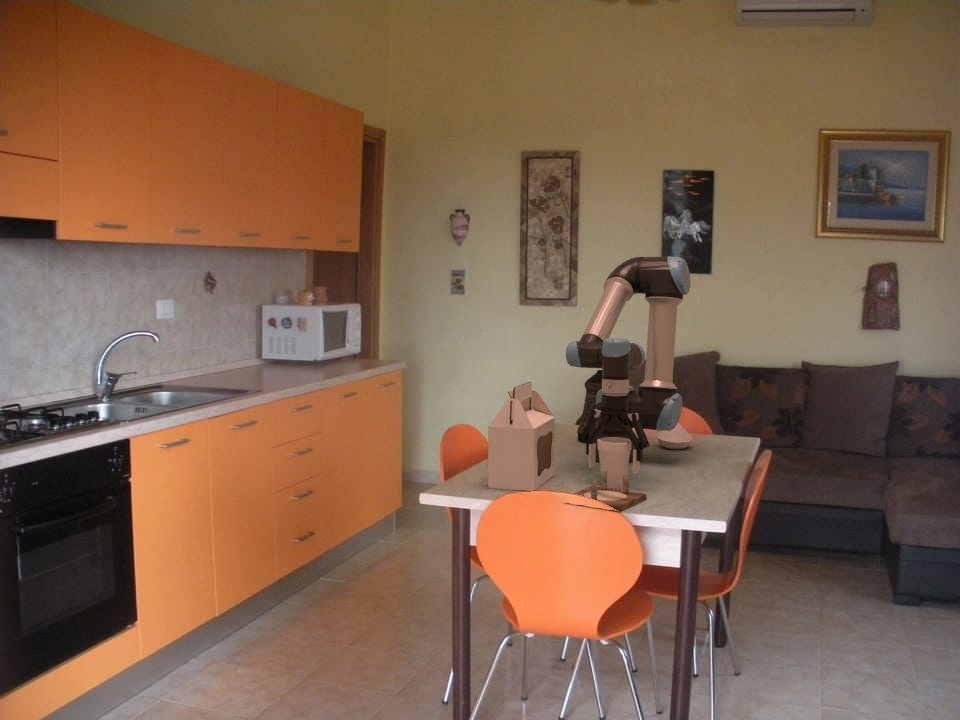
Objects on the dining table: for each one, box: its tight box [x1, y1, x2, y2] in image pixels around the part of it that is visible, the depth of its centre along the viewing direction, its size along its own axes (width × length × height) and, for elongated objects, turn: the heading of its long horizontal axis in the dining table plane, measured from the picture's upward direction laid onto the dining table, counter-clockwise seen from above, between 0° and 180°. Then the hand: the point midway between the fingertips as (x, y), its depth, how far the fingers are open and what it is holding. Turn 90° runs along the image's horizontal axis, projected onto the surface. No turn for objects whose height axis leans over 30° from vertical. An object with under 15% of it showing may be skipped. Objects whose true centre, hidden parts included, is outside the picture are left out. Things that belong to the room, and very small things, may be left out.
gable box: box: [487, 381, 556, 491], centre depth 268 cm, size 22×13×28 cm, turn 160°
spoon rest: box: [656, 422, 693, 450], centre depth 326 cm, size 24×12×7 cm, turn 172°
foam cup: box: [597, 437, 631, 490], centre depth 263 cm, size 10×9×13 cm
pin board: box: [572, 470, 647, 513], centre depth 246 cm, size 16×16×6 cm
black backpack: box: [576, 369, 602, 444], centre depth 332 cm, size 16×19×25 cm
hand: (613, 469), depth 263 cm, fingers open, 13 cm apart
